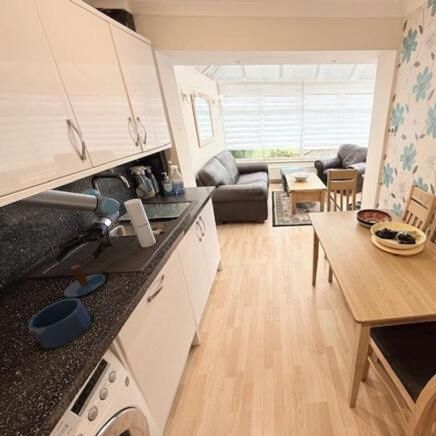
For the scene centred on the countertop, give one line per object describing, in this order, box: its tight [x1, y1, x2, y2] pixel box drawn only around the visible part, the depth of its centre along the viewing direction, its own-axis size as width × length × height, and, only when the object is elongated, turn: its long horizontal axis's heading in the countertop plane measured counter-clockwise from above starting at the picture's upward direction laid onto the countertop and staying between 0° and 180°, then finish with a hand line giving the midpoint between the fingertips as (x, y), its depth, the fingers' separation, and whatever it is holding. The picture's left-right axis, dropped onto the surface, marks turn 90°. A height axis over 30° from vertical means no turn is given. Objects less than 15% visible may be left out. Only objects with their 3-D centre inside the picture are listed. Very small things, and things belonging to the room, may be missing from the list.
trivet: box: [65, 273, 106, 299], centre depth 98 cm, size 12×12×1 cm
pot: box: [26, 298, 92, 349], centre depth 77 cm, size 13×13×8 cm
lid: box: [63, 264, 107, 298], centre depth 96 cm, size 14×14×10 cm
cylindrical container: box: [123, 198, 157, 248], centre depth 122 cm, size 7×7×25 cm
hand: (76, 258), depth 100 cm, fingers open, 13 cm apart
